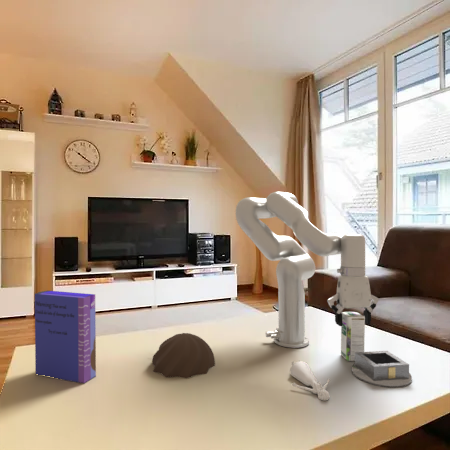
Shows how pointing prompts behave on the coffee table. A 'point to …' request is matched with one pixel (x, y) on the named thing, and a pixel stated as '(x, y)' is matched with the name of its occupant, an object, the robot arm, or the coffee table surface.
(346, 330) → the syrup box
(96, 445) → the coffee table surface
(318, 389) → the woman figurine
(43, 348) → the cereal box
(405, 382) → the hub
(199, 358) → the decorative dome
